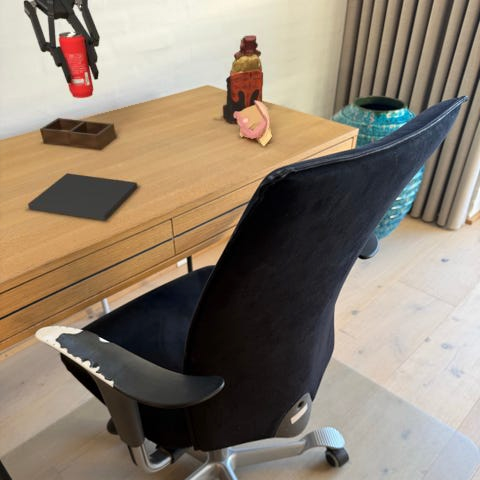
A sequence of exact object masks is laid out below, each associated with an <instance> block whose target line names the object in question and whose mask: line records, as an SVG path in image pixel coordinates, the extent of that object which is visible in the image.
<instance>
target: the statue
mask: <svg viewBox="0 0 480 480" xmlns="http://www.w3.org/2000/svg"><path fill="white" fill-rule="evenodd" d="M258 46H259V44H258V42H257V35H251V34H250V35H244V36H243V37H242V38H240V44H239V50H238V51H237V52H235V53H234V54H233V57H234V60H233V61H232V64H231V69H230V71H229V76H228V77H226V79H225V82H226V103H225V104H223V105H222V117H223V119H224V120H225V121H226V122H227V123H229V124H238V123H237V119H236V118H234V115H233V114H234V112H235V111H236V112H240V111H242V110H244V109H245V108H248V107H251V106H253V105H255V103H254V101H260V102H262V103H263V86H264V72H263V66H262V61H261V59H260V56H261V55H262V51H260V50H258V49H257V48H258Z"/></svg>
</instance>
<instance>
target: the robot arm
mask: <svg viewBox="0 0 480 480" xmlns="http://www.w3.org/2000/svg"><path fill="white" fill-rule="evenodd" d="M75 6H76V7H77V9H78V11H79V12H81V16H82V20H83V22H84V24H85V26H86V28H85V26H84V25H83V23H82V22H81V20H80V19H79V18H78V15H76V12H75V10H74V7H75ZM23 10H24V13H25V14H26V16H27V17H28V19H29V20H30V23H31V27H32V29H33V32H34V34H35V37H36V41H37V44H38V46H39V49H40V51H41V52H42V53H47V52H48V53H49V54H50V56H51V57H52V59H53V61H54V65H55V66H56V67H57V68H61V70H62V73H63V75H64V79H65V81H66V84H68V83H71V74H70V71H69V68H68V65H67V63H66V60H65V57H64V54H63V52H62V49H61V46H60V45H57V38H56V37H57V35H56V25H55V24H56V23H55V21H57V20H61V19H62V20H65V21H66V22H67V24H68V25H70V26H71V28H72V29H73V30H74V31H73V32H80V33H82V36H83V37H84V40H85V46H86V51H87V56H88V62H89V67H90V73H91V75H92V77H93V79H94V81H95V80H99V73H100V72H99V71H100V70H99V68H98V65H97V63H98V57H99V56H98V54H97V50H96V48H98V47H99V46H100V40H101V39H100V38H101V36H100V34H99V31H98V29H97V27H96V24H95V22H94V19H93V16H92V14H91V11H90V8H89V0H31V1H29V0H23ZM38 10H39V11H40V12H42V13H43V14H44V15H45V16H47V26H48V27H47V28H48V40H49V41H47V40H46V37H45V34H44V31H43V29H42V25H41V23H40V20H39V17H38Z"/></svg>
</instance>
